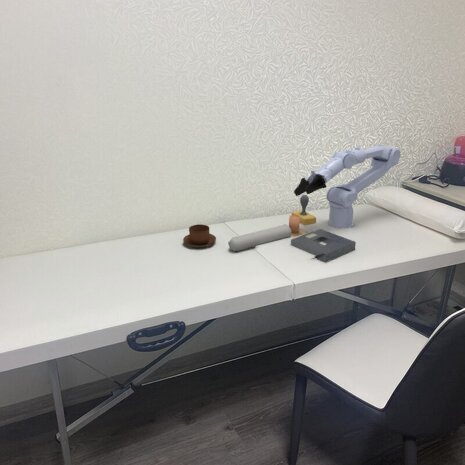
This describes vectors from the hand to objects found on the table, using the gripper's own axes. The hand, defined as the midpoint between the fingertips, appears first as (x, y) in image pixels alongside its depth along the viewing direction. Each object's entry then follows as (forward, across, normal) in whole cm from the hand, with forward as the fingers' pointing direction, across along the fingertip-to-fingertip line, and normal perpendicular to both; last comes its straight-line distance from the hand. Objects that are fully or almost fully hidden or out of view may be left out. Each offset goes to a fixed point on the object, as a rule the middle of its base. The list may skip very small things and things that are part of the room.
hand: (300, 192), depth 157 cm
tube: (+20, -9, +5) cm, 23 cm away
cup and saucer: (+38, -17, -4) cm, 41 cm away
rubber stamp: (-4, -19, +16) cm, 25 cm away
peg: (+6, -10, +13) cm, 17 cm away
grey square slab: (+6, +4, +20) cm, 22 cm away
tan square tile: (+6, -10, +14) cm, 18 cm away
